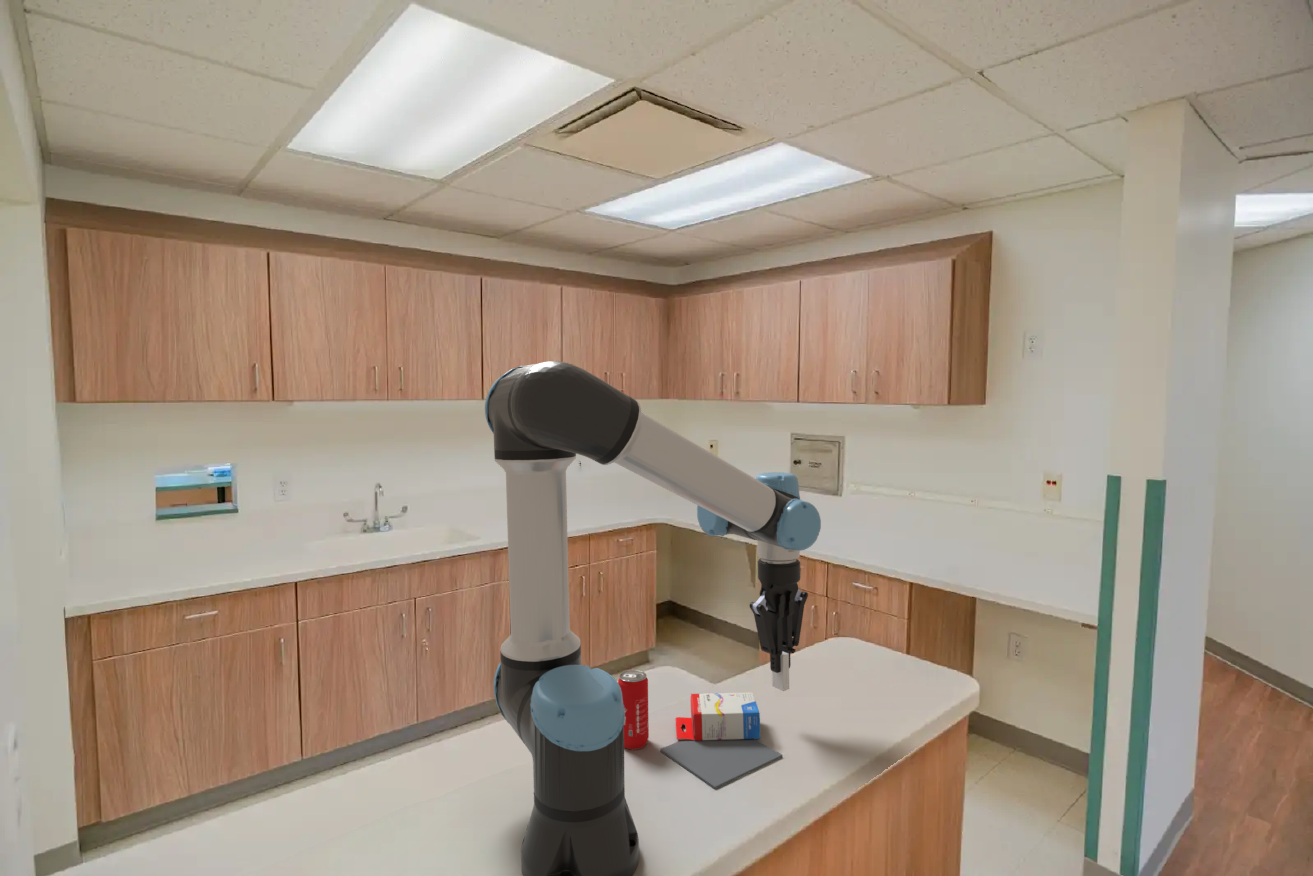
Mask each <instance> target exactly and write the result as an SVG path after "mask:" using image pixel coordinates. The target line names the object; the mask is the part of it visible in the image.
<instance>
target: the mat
mask: <svg viewBox="0 0 1313 876" xmlns="http://www.w3.org/2000/svg"><path fill="white" fill-rule="evenodd" d="M659 751H660V753H662V754H664V756H666V757H668V758H669V759H671V760H672V761H673V762H675V763H676V764H678V765H679V766H680V767H682V768H683V769H685V770H686V771H688V772H690V774H692V775H693V776H695V777H697V778H698V779H699V780H700V781H702V782H703V783H705V784H707V785H708V786H709V787H710V788H712V789H714V790H716V789H719V788H721V787H722V786H726V785H727V784H730V783H732V782H734V781H735V780H737V779H739V778H742V777H743V776H746V775H748V774H750V773H752V772H754V771H756V770H759V769H760V768H763V767H765V766H766V765H769V764H771V763H773V762H775V761H777V760H780V759H782V758H783V753H782V754H781V753H780V752H778V751H776V750H775V749H773V748H771V747H769V746H767V745H766V744H764V743H762V742H760V741H758V739H729V740H697V741H695V740H678V741H676V742H674V743H672V744H669V745H666V746H664V747H661V748H660V750H659Z"/></svg>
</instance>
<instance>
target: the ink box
mask: <svg viewBox="0 0 1313 876" xmlns="http://www.w3.org/2000/svg"><path fill="white" fill-rule="evenodd" d="M760 713H761V712H760V711H759V707H758V704H757V701H756V698H755V695H754V693H753V692H720V693H717V692H716V693H714V692H713V693H711V692H709V693H690V717H685V716H684V717H681V716H679V717H677V716H676V717H675V735H676V740H678V741H681V740H695V741H697V740H729V739H755V740H759V739H761V718H760V717H761V716H760ZM683 726H685V731H683V729H682V727H683Z"/></svg>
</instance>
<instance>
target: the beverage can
mask: <svg viewBox="0 0 1313 876" xmlns="http://www.w3.org/2000/svg"><path fill="white" fill-rule="evenodd" d="M617 682H618V684H619V686H620V688H621V691H622V698H623V705H624V709H625V721H624V749H627V750H635V751H636V750H641V749H643V748H644V747H646V745H647V742H648V739H649V738H650V737H649V724H650V723H649V680H648V678H647V674H646V672H644V671H642V670H637V669H633V670H632V669H631V670H626V671H624V672H621V673H620V674H619V678H618V680H617Z"/></svg>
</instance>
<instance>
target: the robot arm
mask: <svg viewBox="0 0 1313 876" xmlns="http://www.w3.org/2000/svg"><path fill="white" fill-rule="evenodd" d="M484 416H485V419H486V423H487V425H488V427H489V430H490V431H491V432H492V434H493V450H494V451H493V452H494V455H493V456H494V462H495V463H496V464H498V466H499V467H501V468H502V469H503V471H504V472H505V485H506V486H505V487H506V488H505V491H506V493H505V494H506V518H507V520H506V521H507V523H506V524H507V554H508V584H509V586H508V589H509V591H508V592H509V618H510V619H509V621H510V623H509V624H510V635H508V637H507V638H506V639H505V640H504V641H503V642H502V643H501V645H500V647H499V648H500V662H499V663H498V665H497V667H496V670H495V673H494V676H493V695H494V699H495V702H496V706H497V708H498V710H499V712H500V714H501V716H502V717H503V718H504V720H505V721H506V722H507V723H508V724H509V725H510V727H511V728H512V729H513V731H514V732H515V734H516V735H517V736H518V737H519V739H520V740H521V741H522V743H523V744H524V745H525V747H526V748H527V750H528V752H529V753H530V755H531V758H532V764H533V765H532V766H533V767H532V769H533V771H532V772H533V773H532V775H533V807H532V811H531V813H530V816H529V821H528V823H527V827H526V831H525V835H524V838H523V840H522V844H521V851H520V852H521V854H520V858H521V860H520V861H521V863H520V864H521V873H522V876H633V874H634V873H635V871H636V870H637V868H638V865H639V859H640V840H639V833H638V830H637V827H636V825H635V824H636V823H635V822H634V819H633V815H632V813H631V811H630V807H629V804H628V802H627V799H626V795H625V789H626V788H625V748H624V721H625V709H624V705H623V698H622V691H621V688H620V686H619V684H618V680H617V679H615V678H614V677H613V676H612V675H611V674H610V673H609V672H607V671H605V670H603V669H601V668H598V667H595V668H591V666H590V665H585V664H582V649H581V648H582V647H581V646H582V644H581V638H580V637H579V636H578V635H577V634H575V633H574V631H572V630H571V624H570V622H571V621H570V616H571V615H570V589H569V586H570V585H569V583H570V581H569V580H570V579H569V549H568V547H569V546H568V542H569V540H568V538H569V537H568V508H567V507H568V505H567V469H568V467H569V466H570V465H572V463H573V462H574V461H575V460H576V458H577V455H579V456H583V457H586V458H588V459H590V460H592V461H594V462H596V463H598V464H600V465H603V466H608V465H611V464H614V463H615V464H617V465H618V466H621V467H622V468H625V469H627V470H628V471H630V472H633V473H634V474H636V475H638V476H640V477H642V478H644V479H646V480H648V481H649V482H652V483H654V484H656V485H658V486H659V487H662V488H663V489H666V490H667V491H669V492H671V493H674V494H675V495H677V496H679V497H681V498H683V499H685V500H686V501H689V502H690V503H692V504H695V505H696V506H697V507H696V511H697V512H696V517H697V522H698V524H699V527H700V528H701V530H702V531H703V532H704V534H705V535H708V536H710V537H717V536H719V537H724V536H726V535H727V536H728V535H734V536H738V537H739V536H740V537H743V538H746V539H749V540H754V541H756V542H757V543H756V545H757V546H756V547H757V549H756V550H757V551H756V552H757V553H756V554H757V557H758V558H759V559H758V561H757V578H758V579H757V580H759V582H760V585H761V587H760V590H759V598H758V599H757V600H756V601H751V602H749V608H750V610H751V612H752V613H753V617H754V622H755V626H756V631H757V636H758V637H757V638H758V640H759V646H760V649H761V651H763V652H765V653H768V654H769V663H770V667H769V668H770V671H771V672H772V673H771V676H772V678H771V679H772V680H771V681H772V687H773V688H775V689H778V690H780V691H782V692H785V691H788V690H790V668H791V663H792V662H791V654H794V653H795V652H796V648H794V647H797V646H799V643H800V638H801V631H802V623H803V616H804V610H805V605H806V602H807V599H808V597H809V594H808V592H806V591H803V590H801V589H799V584H798V583H799V582H800V581H801V562H800V560H799V558H800V557H801V555H800V554H801V553H800V552H801V551H805V550H807V549H810V548H811V547H812V546H813V545H814V544H815V543H816V541H817V540H818V537H819V534H820V532H821V527H822V520H821V515H820V511H818V509H817V508H816V507H815V505H813V504H812V503H811V502H808V501H804V500H802V499H801V496H800V485H799V478H798V477H797V476H796V474H795V473H789V472H781V471H780V472H778V471H777V472H776V471H775V472H773V471H771V472H763V473H759V474H757V476H756V478H755V477H754V476H751V475H749V474H747V473H746V472H745V471H743V470H741V469H739V468H738V467H737V466H734V465H733V464H731V463H730V462H727V461H725V460H724V459H722V458H720V456H717V455H715V454H713V453H712V452H710V451H708V450H706V449H705V448H703V447H701V446H700V445H698V444H697V443H694V442H693V441H691V440H689V439H688V438H686V437H684V436H682V435H681V434H679V433H678V432H676V431H674V430H673V429H671V428H669V427H667V426H666V425H663V424H662V423H660V422H659V421H657V420H655V419H654V418H651V417H650V416H648V415H646V414H645V413H644V412H642V408H641V404H640V403H639V401H637V400H636V399H634V398H633V397H632V396H629V395H628V394H625V393H624V392H623V391H621V390H619V389H618V388H616V387H614V386H613V385H611V384H610V383H608V382H607V381H605V380H603V379H601V378H600V377H598V376H596V375H595V374H593V373H591V372H589V371H588V370H586V369H583V368H581V367H579V366H577V365H574V364H572V363H569V362H566V361H565V362H564V361H560V360H559V361H558V360H549V361H542V362H539V363H534V364H533V363H532V364H528V365H527V364H526V365H520V366H517V367H513V368H512V369H509V370H508V371H506V372H505V373H504V374H502V375H500V377H498V378H497V379H496V380H495V381H494V382H493V383H492V385H491V387H490V388H489V390H488V392H487V395H486V398H485V403H484Z"/></svg>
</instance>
